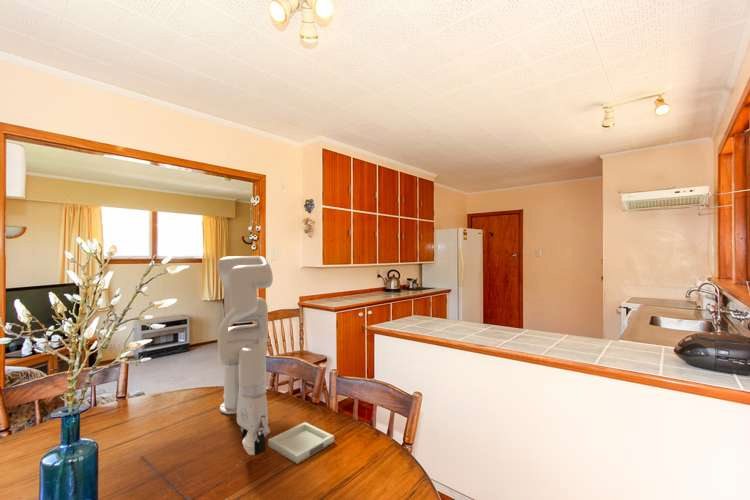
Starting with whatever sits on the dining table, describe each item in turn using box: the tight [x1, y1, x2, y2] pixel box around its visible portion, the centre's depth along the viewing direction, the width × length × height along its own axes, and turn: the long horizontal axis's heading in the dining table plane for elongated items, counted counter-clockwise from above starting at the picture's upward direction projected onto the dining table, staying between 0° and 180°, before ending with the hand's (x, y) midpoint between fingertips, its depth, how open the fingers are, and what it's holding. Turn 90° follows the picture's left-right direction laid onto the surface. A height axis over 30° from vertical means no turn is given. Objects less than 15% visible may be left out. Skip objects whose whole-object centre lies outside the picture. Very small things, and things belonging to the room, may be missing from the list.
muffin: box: [241, 431, 262, 456], centre depth 104 cm, size 6×6×7 cm
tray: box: [267, 421, 335, 464], centre depth 111 cm, size 15×14×2 cm
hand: (253, 447), depth 104 cm, fingers closed on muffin, 6 cm apart
